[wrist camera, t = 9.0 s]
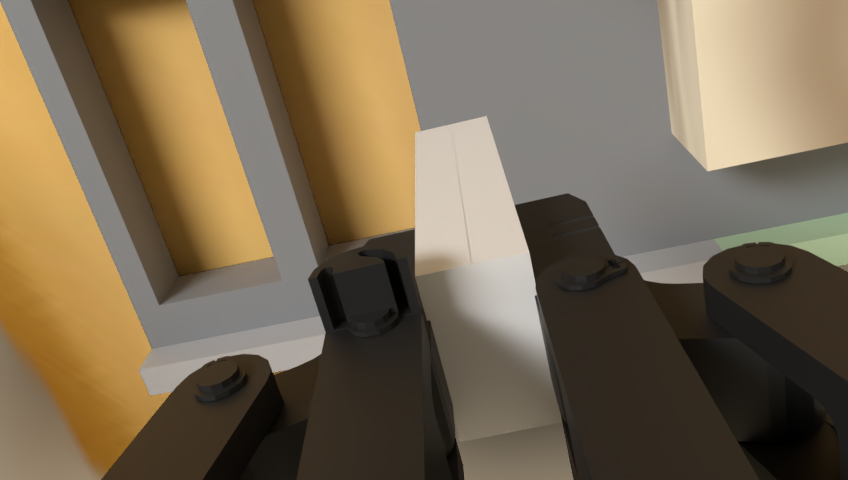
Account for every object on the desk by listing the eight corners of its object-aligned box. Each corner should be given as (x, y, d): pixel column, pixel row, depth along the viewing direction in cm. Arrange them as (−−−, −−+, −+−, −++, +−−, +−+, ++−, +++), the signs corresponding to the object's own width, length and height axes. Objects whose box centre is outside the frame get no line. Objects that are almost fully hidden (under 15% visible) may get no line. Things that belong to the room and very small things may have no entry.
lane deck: (181, 341, 34) (136, 419, 29) (-3, -100, 27) (-106, -99, 22) (959, 188, 30) (1061, 248, 25) (984, -370, 23) (1135, -443, 18)
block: (671, 133, 27) (707, 171, 23) (648, -81, 24) (684, -75, 20) (882, 88, 26) (954, 120, 22) (883, -138, 23) (964, -143, 20)
